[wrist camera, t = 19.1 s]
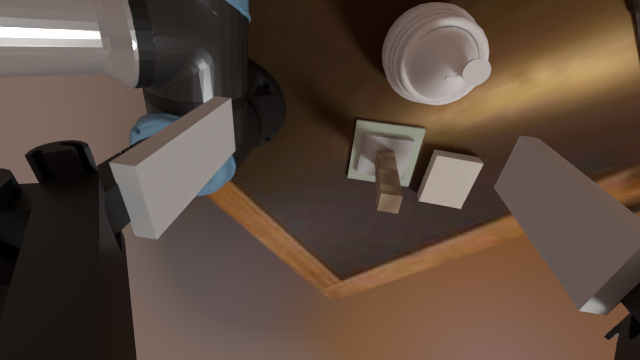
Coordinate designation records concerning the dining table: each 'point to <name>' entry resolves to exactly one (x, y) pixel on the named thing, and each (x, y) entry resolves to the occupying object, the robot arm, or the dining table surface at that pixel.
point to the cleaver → (639, 5)
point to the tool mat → (386, 130)
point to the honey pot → (435, 54)
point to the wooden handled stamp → (385, 167)
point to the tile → (449, 178)
